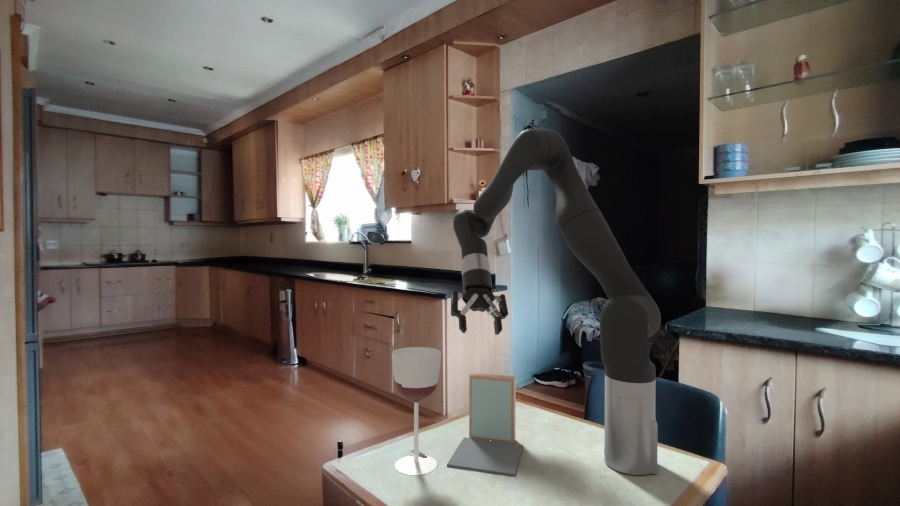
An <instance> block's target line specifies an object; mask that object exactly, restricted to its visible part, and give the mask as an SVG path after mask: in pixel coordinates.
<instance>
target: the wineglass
mask: <svg viewBox="0 0 900 506" xmlns="http://www.w3.org/2000/svg"><path fill="white" fill-rule="evenodd" d="M441 362H442V351H441V350H440V349H438V348H433V347H424V346H413V347H412V346H411V347H410V346H407V347H402V348H397V349H394V350H392V351H391V363H392V365H391V366H392V374H393V379H394V384H395V387H396V390H397V392H398V393H399V394H400V395H401V396H403V397H405V398H406V399H408V400H411V402H413V403H414V404H413V455H414V457H413V456H410V455H406V456H403V457H401V458H400V457H399V459H398V460H396V462H395V463H394V468H395V469H396V471H398V472H399V473H401V474H404V475H410V476H420V475H425V474H426V475H427V474H429V473H431V472H433V471H435V470H436V469H437V466H438V461H437V460H436V459H435V458H433V457H431V456H429V455H426V456H427V458H422V457H418V455H419V402H420V401H423V400H424V399H427V398H428V397H429V396H431V395H432V394H433V393H434V392H435V390H436V389H437V386H438V381H439V376H440V372H441V371H440V369H441Z"/></svg>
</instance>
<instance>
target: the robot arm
mask: <svg viewBox="0 0 900 506" xmlns="http://www.w3.org/2000/svg"><path fill="white" fill-rule="evenodd" d="M529 171H543V172H544V173H545V174H546V176H547V177H548V179H549V181H550V182H551V184H552V185H553V188H554V191H555V195H556V196H555V197H556V201H555V220H556V223H557V227H558V229H559V231H560V233H561V235H562V237H563V239H564V241H565V242H566V244H567V247H568V248H569V249H570V251H571V253H572V254H574V255H573V256H575V257H576V258H577V260H578V261H579V262H580V263H582V265H583V266H584V267H585V268H586V269H587V270H588V271H589V272H590V273H591V274H592V275H593V276H594V278H596V279H597V281H598V282H599V284H600V286H601V287H602V289H603V290H604V293H605V294H606V297H607V299H608V300H607V301H606V302H605V303H604V305H603V306H602V309H601V312H600V317H599V337H600V338H599V339H600V358H601V361H602V363H603V366H604V448H603V449H604V450H603V452H604V456H603V457H604V462H605V464H606V465H607V466H608V467H609V468H611V469H612V470H614V471H617V472H620V473H622V474H626V475H631V476H645V475H649V474H653V475H657V474H658V439H659V438H658V436H659V435H658V433H659V432H658V431H659V430H658V429H659V428H658V422H657V419H656V379H657V378H656V375H657V373H656V371H657V370H656V365H655V364H654V363H653V362H652V361H651V359H650V349H649V338H651V337H652V336H654V335H655V334H656V333H657V332H658V331H659V329H660V327H661V323H662V317H661V312H660V309H659V306H658V305H657V303H656V302H655V300H654V298H653V297H652V296H651V294H650V293H649V292H648V290H647V288H646V287H645V286H644V285H643V283H642V282H641V280H640V279H639V277H638V276H637V274H636V273H635V271H633V269H632V267H631V266H630V264H629V262H628V260H627V258H626V256H625V254H624V252H623V249H622V248H621V246H620V245H619V243H618V241H617V240H616V238H615V236H614V234H613V232H612V230H611V229H610V225H609V224H608V222H607V220H606V219H605V217H604V215H603V213H602V212H601V210H600V209H599V207H598V205H597V203H596V201H595V200H594V199H593V197H592V195H591V193H590V191H589V189H588V187H587V185H586V183H585V182H584V180H583V178H582V176H581V175H580V172H579V171H578V168H577V166H576V163H575V161H574V159H573V157H572V154H571V152H570V149H569V147H568V145H567V143H566V140H565V139H564V137H563V136H562V135H561V134H560V133H559V132H558V131H556V130H553V129H547V128H546V129H545V128H527V129H524V130H522V131H521V132H519V133H518V135H517V136H516V137H515V139H513V141H512V143H511V145H510V147H509V148H508V150H507V153H506V154H505V156H504V158H503V160H502V161H501V164H500V165H499V167H498V169H497V171H496V172H495V174H494V176H493V178H492V179H491V181H490V182H489V183H488V185H487V186H486V187H485V188H484V189H483V191H482V192H481V193H480V194H479V195H478V197H477V198H476V200H475V201H474V202H473V206H472V207H473V208H472V209H473V210H469V209H465V208H464V209H463V208H462V209H460V210H458V211H456V213H455V216H454V217H453V224H452V226H453V230H454V234H455V236H456V239H457V242H458V244H459V247H460V250H461V277H462V290H463V291H462V293H461V292H458V291H457V290H453V292H452V294H451V296H450V315H451V317H456V318H458V329H459V331H460V332H461V333H462V334H466V332H467V329H468V328H467V327H468V326H467V316H466V314H467V313H468V312H469V310H471V311H472V312H477V311H478V312H482V313H484V312H486V313H487V315H488V316H491V317H492V319H493V325H494V327H493V328H494V329H493V330H494V334H495V335H496V336H498V335H499V334H500V333H501V332H502V331H503V322H502V320H505V319H506V318H507V317H508V315H509V311H508V304H507V299H506V295H505V294H504V293H501V294H500V295H495V294H494V292H493V283H492V274H491V273H492V272H491V265H490V260H489V255H488V245H487V243H486V241H485V240H484V239H483V238H485V237H487V236H488V235H489V234H490V231H491V229H492V226H493V224H494V221H495V220H496V218H497V216H498V215H499V214H500V213H501V212H502V211H503V209H505V208H506V206H507V205H508V204H509V202H510V201H511V199H512V196H513V193H514V185H515V183H516V182H517V181H518V179H519V178H520V177H522V176H523V175H524V174H525V173H527V172H529ZM461 300H462V301H463V302H464V304H465V305H464V306H463V308H462V309H461V310H460V309H459V302H460V301H461ZM494 301H495V303H496V304H497V305H498V307H497V305H496V304H495V303H494Z"/></svg>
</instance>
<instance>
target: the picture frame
mask: <svg viewBox="0 0 900 506" xmlns="http://www.w3.org/2000/svg"><path fill="white" fill-rule="evenodd" d="M516 381H517V378H516V376H512V375H501V374H491V373H490V374H489V373H477V372H472V373H470V374H469V385H468V387H469V390H468V391H469V392H468V393H469V395H468V396H469V397H468V399H469V400H468V401H469V402H468V403H469V405H468V407H469V408H468V414H469V416H468V430H469V431H468V432H469V433H468V438H474V439H482V440H491V441H498V442H506V443H514V444H515V442H516V409H517V408H516V404H517V403H516V399H517V398H516V396H517V393H516V390H517V389H516V387H517V385H516V384H517V383H516Z"/></svg>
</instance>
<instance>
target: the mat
mask: <svg viewBox="0 0 900 506" xmlns="http://www.w3.org/2000/svg"><path fill="white" fill-rule="evenodd" d="M523 447H524V444H520V443H515V442H514V443H506V442H498V441H490V440H482V439H474V438H469V437H463V438H462V440H460V443H459V444H458V446H457V447H456V449H455V450H454V452H453V453H452V456H451V457H450V458H449V461H447V464H446V466H447V467H448V468H449V467H450V468H456V469H462V470H463V469H464V470H469V471H470V470H471V471H477V472H484V473H491V474H497V475H505V476H510V477H511V476H513V477H515V474H516V471H517V467H518V463H519V461H520V458H521V454H522V450H523Z"/></svg>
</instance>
